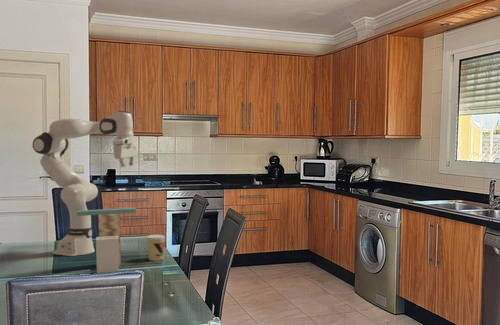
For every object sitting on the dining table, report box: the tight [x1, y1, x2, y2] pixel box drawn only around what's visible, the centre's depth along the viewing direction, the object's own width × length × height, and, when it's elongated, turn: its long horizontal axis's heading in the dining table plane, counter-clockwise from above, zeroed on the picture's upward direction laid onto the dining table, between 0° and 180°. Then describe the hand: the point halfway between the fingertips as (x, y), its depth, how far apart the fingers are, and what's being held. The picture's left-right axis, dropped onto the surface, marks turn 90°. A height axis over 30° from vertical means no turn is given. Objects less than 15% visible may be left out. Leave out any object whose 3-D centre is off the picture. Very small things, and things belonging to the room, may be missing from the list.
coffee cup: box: [146, 234, 166, 261], centre depth 237 cm, size 9×9×12 cm
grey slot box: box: [95, 236, 120, 274], centre depth 215 cm, size 10×7×16 cm
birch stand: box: [97, 214, 122, 267], centre depth 225 cm, size 10×8×26 cm
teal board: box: [77, 207, 137, 216], centre depth 224 cm, size 28×4×2 cm, turn 108°
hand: (127, 166), depth 243 cm, fingers open, 8 cm apart
